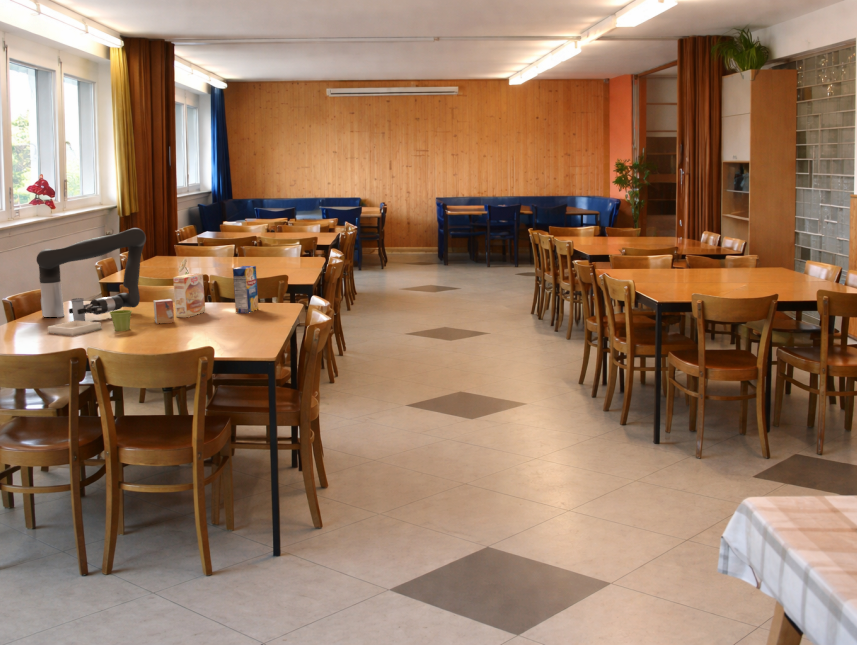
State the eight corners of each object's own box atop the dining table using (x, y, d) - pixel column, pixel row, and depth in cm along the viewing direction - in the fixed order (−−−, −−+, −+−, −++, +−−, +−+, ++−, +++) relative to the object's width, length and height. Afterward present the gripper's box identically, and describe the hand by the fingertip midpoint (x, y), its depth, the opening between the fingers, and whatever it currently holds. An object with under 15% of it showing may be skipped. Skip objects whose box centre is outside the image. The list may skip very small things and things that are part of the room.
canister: (71, 325, 376) (68, 299, 374) (80, 322, 381) (77, 297, 379) (79, 325, 374) (76, 300, 372) (88, 323, 379) (86, 298, 377)
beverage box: (235, 313, 399) (232, 268, 395) (246, 309, 409) (243, 265, 405) (248, 313, 397) (245, 268, 393) (258, 309, 407) (255, 266, 403)
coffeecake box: (187, 317, 389) (184, 277, 385) (175, 317, 391) (172, 277, 388) (206, 312, 403) (203, 273, 399) (194, 311, 405) (191, 273, 401)
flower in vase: (181, 303, 430) (177, 256, 425) (203, 302, 431) (199, 256, 426) (176, 307, 417) (172, 259, 412) (198, 307, 418) (195, 258, 413)
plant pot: (120, 328, 367) (118, 309, 365) (138, 329, 364) (136, 310, 362) (106, 332, 358) (104, 313, 356) (124, 333, 355) (122, 313, 354)
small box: (156, 324, 374) (155, 301, 372) (154, 322, 379) (152, 300, 377) (174, 322, 378) (172, 300, 376) (172, 320, 383) (170, 298, 381)
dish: (48, 333, 356) (47, 326, 356) (76, 326, 370) (76, 320, 369) (73, 335, 350) (72, 329, 349) (101, 329, 363) (100, 322, 363)
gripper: (91, 297, 391) (61, 302, 376) (112, 298, 385) (84, 304, 370) (92, 312, 393) (63, 318, 378) (114, 314, 387) (85, 320, 372)
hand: (73, 311), depth 374 cm, fingers closed on canister, 5 cm apart
